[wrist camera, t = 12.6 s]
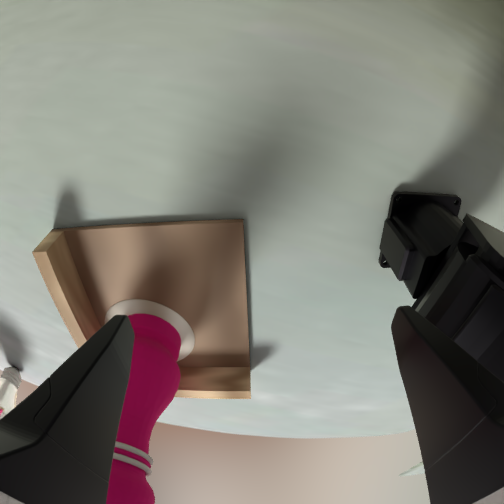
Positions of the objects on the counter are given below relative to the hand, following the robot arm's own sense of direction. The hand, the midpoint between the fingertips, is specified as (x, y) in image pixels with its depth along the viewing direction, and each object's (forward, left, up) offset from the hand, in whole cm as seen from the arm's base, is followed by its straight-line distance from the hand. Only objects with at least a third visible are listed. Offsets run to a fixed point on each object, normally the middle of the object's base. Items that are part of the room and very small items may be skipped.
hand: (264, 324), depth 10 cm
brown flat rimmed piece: (+9, +12, -13) cm, 20 cm away
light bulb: (+37, +26, -13) cm, 47 cm away
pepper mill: (+10, +15, -13) cm, 22 cm away
